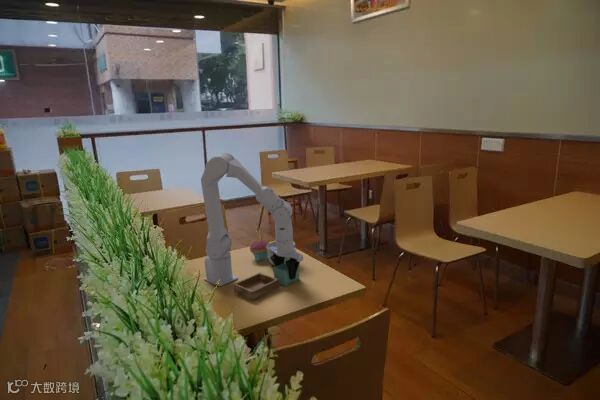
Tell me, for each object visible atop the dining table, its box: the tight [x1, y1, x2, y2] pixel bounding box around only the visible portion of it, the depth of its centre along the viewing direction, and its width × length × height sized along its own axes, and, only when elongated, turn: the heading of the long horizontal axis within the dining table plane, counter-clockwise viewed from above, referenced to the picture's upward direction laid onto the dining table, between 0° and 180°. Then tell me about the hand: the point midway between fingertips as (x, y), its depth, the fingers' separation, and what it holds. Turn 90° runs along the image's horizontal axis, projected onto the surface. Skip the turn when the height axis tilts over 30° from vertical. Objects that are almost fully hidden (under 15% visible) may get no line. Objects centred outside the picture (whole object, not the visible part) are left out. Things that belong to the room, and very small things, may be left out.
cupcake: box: [249, 227, 270, 261], centre depth 159 cm, size 9×8×12 cm
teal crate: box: [273, 263, 300, 287], centre depth 138 cm, size 5×7×6 cm
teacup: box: [266, 240, 297, 267], centre depth 154 cm, size 14×11×8 cm
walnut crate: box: [232, 272, 280, 302], centre depth 132 cm, size 9×11×3 cm
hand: (286, 276), depth 138 cm, fingers closed on teal crate, 5 cm apart
